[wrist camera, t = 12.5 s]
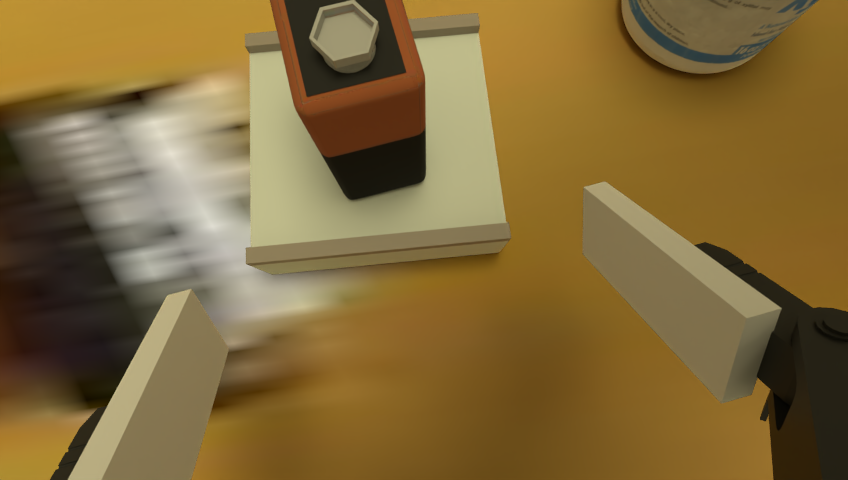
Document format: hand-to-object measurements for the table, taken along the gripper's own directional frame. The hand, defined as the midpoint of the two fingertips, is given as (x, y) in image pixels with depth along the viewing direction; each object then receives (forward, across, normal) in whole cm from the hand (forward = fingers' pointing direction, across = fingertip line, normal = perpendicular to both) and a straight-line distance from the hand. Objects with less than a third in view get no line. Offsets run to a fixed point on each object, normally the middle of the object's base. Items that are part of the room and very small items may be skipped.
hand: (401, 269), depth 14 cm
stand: (+13, 0, -1) cm, 13 cm away
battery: (+11, 0, +1) cm, 11 cm away
